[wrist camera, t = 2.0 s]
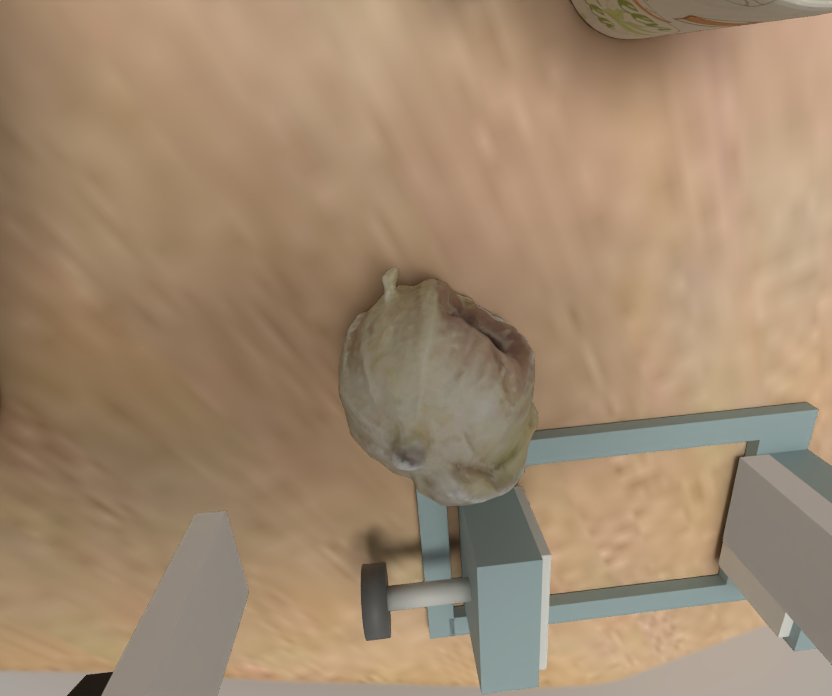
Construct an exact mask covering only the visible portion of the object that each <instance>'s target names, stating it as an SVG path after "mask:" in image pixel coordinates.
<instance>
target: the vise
mask: <svg viewBox="0 0 832 696" xmlns="http://www.w3.org/2000/svg"><path fill="white" fill-rule="evenodd" d="M818 410H819V409H817V408H816V407H814V406H812V405H811V404H809V403H807V402H804V403H795V404H786V405H776V406H767V407H758V408H748V409H739V410H730V411H720V412H711V413H702V414H692V415H683V416H674V417H664V418H655V419H646V420H636V421H627V422H618V423H608V424H599V425H590V426H580V427H571V428H562V429H552V430H543V431H535V432H534V434H533V436H532V438H531V441H530V444H529V447H528V457H527V461H526V466H527V465H536V464H546V463H555V462H564V461H573V460H582V459H591V458H600V457H609V456H618V455H627V454H637V453H646V452H655V451H664V450H673V449H682V448H691V447H700V446H709V445H718V444H727V443H737V442H746V441H748V443H747V447H746V452H745V456H744V457H748V456H757V455H767V454H769V455H770V456H772V457H773V458H774V459H775V460H777V461H778V462H779V463H781V464H782V465H783V466H784V467H786V468H787V469H788V470H790V471H791V472H792V473H793V474H795V475H796V476H797V477H798V478H800V479H801V480H802V481H804V482H805V483H806V484H807V485H809V486H810V487H811V488H813V489H814V490H815V491H816V492H818V493H819V494H820V495H822V496H823V497H824V498H825V499H827V500H828V501H829V502H830V503H832V466H831V465H829V464H828V463H827V462H825V461H824V460H822V459H821V458H819V457H818V456H817V455H815V454H814V453H812V452H811V451H809V450H808V446H809V442H810V439H811V435H812V432H813V428H814V425H815V421H816V417H817V414H818ZM416 493H417V504H418V515H419V526H420V536H421V547H422V558H423V569H424V579H425V582H426V581H434V580H443V579H451V566H450V550H449V535H448V519H447V506H442V505H439V504H438V503H436V502H435V501H433V500H432V499H430V498H428V497H426V496H424V495H422V494H421V493H419V492H418V490H417V489H416ZM718 565H719V566H720V570H719V574H718V575H712V576H704V577H696V578H687V579H679V580H671V581H663V582H654V583H646V584H638V585H630V586H621V587H613V588H605V589H597V590H588V591H580V592H572V593H564V594H555V595H549V619H548V624H554V623H562V622H570V621H578V620H586V619H594V618H602V617H611V616H619V615H627V614H635V613H643V612H651V611H659V610H667V609H675V608H683V607H691V606H700V605H708V604H716V603H724V602H732V601H740V600H748V602H749V603H750V604H751V605H752V607H753V608H754V609H755V610H756V611H757V613H758V614H759V615H760V616H761V617H762V619H763V620H764V621H765V622H766V624H767V625H768V626H769V627H770V628H771V630H772V631H773V632H774V633H775V634H776V636H777V637H783V639H784V640H785V641H786V642H787V644H788V645H789V646H790V647H791V648H792V650H793V651H800V650H809V649H816V648H817V647H816V646H815V645H814V644H813V643H812V642H811V641H810V639H809V638H808V637H807V636H806V635H805V634H804V633H803V631H802V630H801V629H800V628H799V627H798V626H797V625H796V623H795V622H794V621H793V620H792V619H791V618H790V617H789V615H788V614H787V613H786V612H785V611H784V610H783V609H782V607H781V606H780V605H779V604H778V603H777V602H776V601H775V600H774V598H773V597H772V596H771V595H770V594H769V593H768V592H767V590H766V589H765V588H764V587H763V586H762V585H761V584H760V582H759V581H758V580H757V579H756V578H755V577H754V576H753V574H752V573H751V572H750V571H749V570H748V569H747V568H746V566H745V565H744V564H743V563H742V562H741V561H740V560H739V558H738V557H737V556H736V555H735V554H734V553H733V552H732V550H731V549H730V548H729V547H728V546H727V545H726V544H725V542H724V541H723V545H722V550H721V554H720V559H719V563H718ZM427 612H428V622H429V632H430V639H433V638H441V637H449V636H457V635H465V634H470V631H469V626H468V621H467V616H466V611H465V606H456V607H453V604H446V605H438V606H429V607H427Z"/></svg>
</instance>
